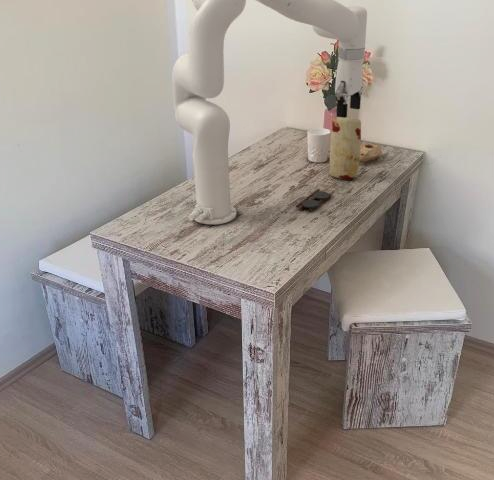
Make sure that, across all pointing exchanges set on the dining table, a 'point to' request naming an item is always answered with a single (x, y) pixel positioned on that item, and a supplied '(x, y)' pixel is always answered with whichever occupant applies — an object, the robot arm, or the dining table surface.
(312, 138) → the white cup
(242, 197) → the dining table surface
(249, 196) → the dining table surface
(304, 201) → the sunglasses
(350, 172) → the food model
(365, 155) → the pottery oil lamp
